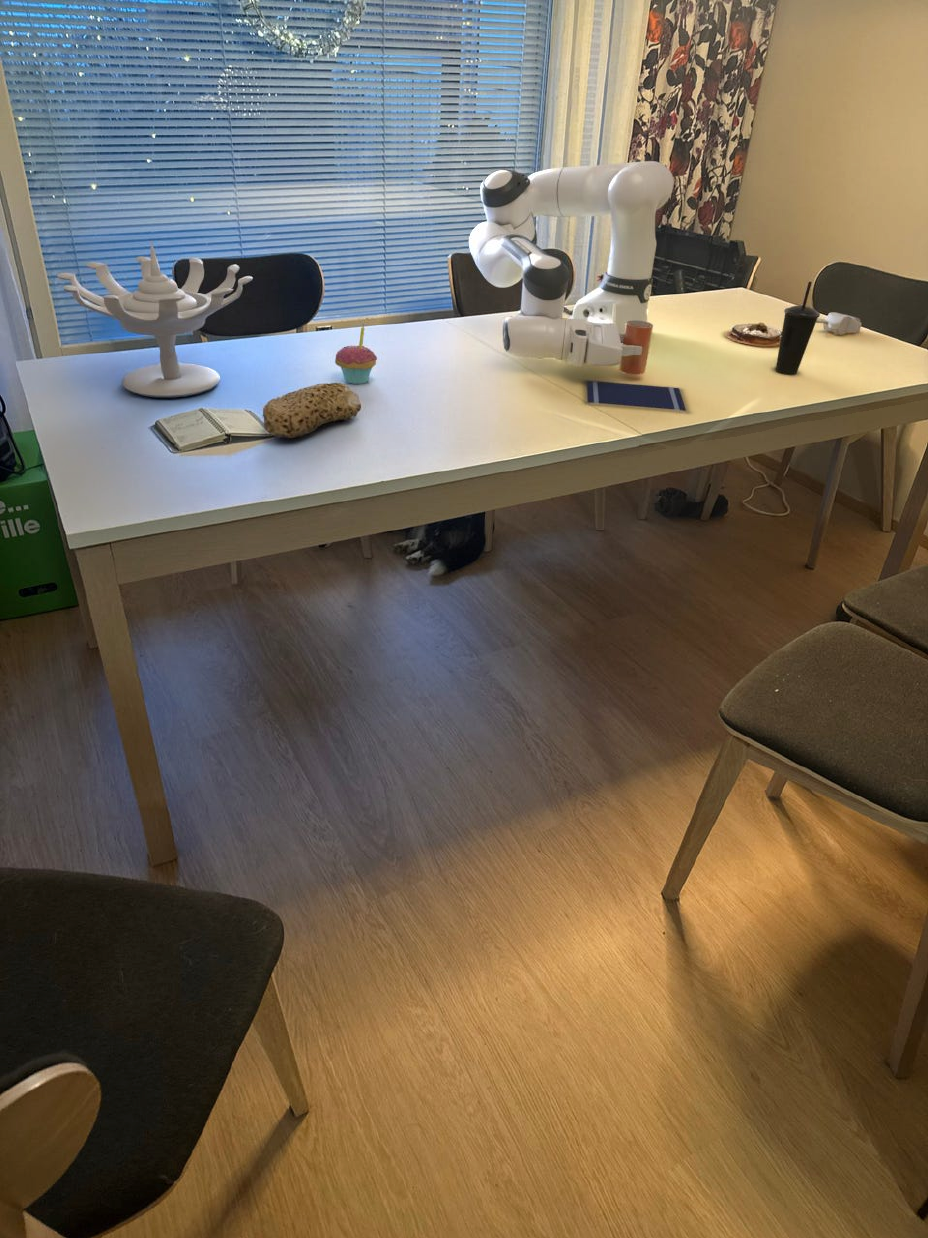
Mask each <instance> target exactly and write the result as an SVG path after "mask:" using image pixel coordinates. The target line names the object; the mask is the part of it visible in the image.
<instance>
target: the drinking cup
mask: <svg viewBox="0 0 928 1238" xmlns="http://www.w3.org/2000/svg"><path fill="white" fill-rule="evenodd" d="M812 283H813V282H812V281H808V283H807V286H806V290H805V294H804V298H803V301H802V304H799V305H793V306H790V307H786V308H785V309H784V310H783V313H784V318H783V323H782V329H781V332H782V335H781V336H780V337H781V341H780V345H778V351H777V352H778V354H777V358H776V365H775V372H777V373H778V374H781V375H787V376H795V375H797V374H798V371H799V368H800V366H801V363H802V361H803V358H804V356H805V353H806V349H807V347H808V344H809V342H810V339H811V336H812V334H813V331H814V330H815V329H814V328H815V326H816V324H817V323H816V321H817V318H820V315H821V313H820V312H819V311H817V310H816V309H814V308H813V307H811V306H809V305H807V302H808V298H809V295H810V290H811V287H812Z"/></svg>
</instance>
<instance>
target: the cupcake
mask: <svg viewBox="0 0 928 1238" xmlns="http://www.w3.org/2000/svg"><path fill="white" fill-rule="evenodd" d="M359 335H360V336H359V343H358V345H347V346H344V347H341V349H339V350H338V351H337V352H336V354H335V359H334V364H335V365H336V366H338V367H340V369H341V371H342V374H343V377H344V381H345V382H346V383H349V384H353V385H362V384H366V383H368V381H369V379H370V375H371V372H372V369H373V368H374V367H375V366H376V364H377V360H378V357H377V355H376V354H375V352H373V350H371V349H370V348H368V347H366V346H364V345H363V343H364V335H365V323H363V324H362V326H361V328H360V334H359Z"/></svg>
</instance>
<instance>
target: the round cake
mask: <svg viewBox="0 0 928 1238" xmlns="http://www.w3.org/2000/svg"><path fill="white" fill-rule="evenodd" d="M781 335H782V330H780V329H779V328H776V327H773V326H770V325H766V324H765V323H764V322H758V323H742V324H736V325H734V326H733V327H732V328H731V330H730V331H729V332H726V334H725V337H726V338H727V339H728V340H730V341H733V342H735V343H740V344H745V345H749V346H755V347H777V346H780V341H781Z"/></svg>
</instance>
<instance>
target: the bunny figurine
mask: <svg viewBox="0 0 928 1238" xmlns="http://www.w3.org/2000/svg"><path fill="white" fill-rule="evenodd" d="M815 324H823V325H822V326H823V330H825V332H826V333H830V332H831V333H833V335H835V336H838V335H843V336H844V335H845V334H846V333H847V334H848V333H850V334H855V333H859V332H860V331H861V327H862V326H863V325H862V322H861V319H860V318H859V317H855V316H851V315H848V314H843V313H839V312H834V311H832V312H831V311H830V312H829V313H828V315H827V316H826V318H825V319H824V318H820V317H818V318H817V321H816V323H815Z"/></svg>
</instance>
